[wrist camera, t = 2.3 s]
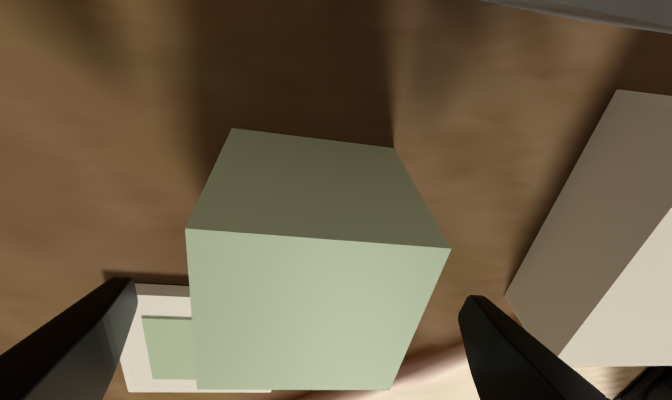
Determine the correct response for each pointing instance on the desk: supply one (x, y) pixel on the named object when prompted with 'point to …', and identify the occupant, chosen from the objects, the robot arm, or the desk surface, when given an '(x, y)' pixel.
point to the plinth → (607, 246)
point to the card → (162, 342)
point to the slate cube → (604, 11)
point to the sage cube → (308, 265)
